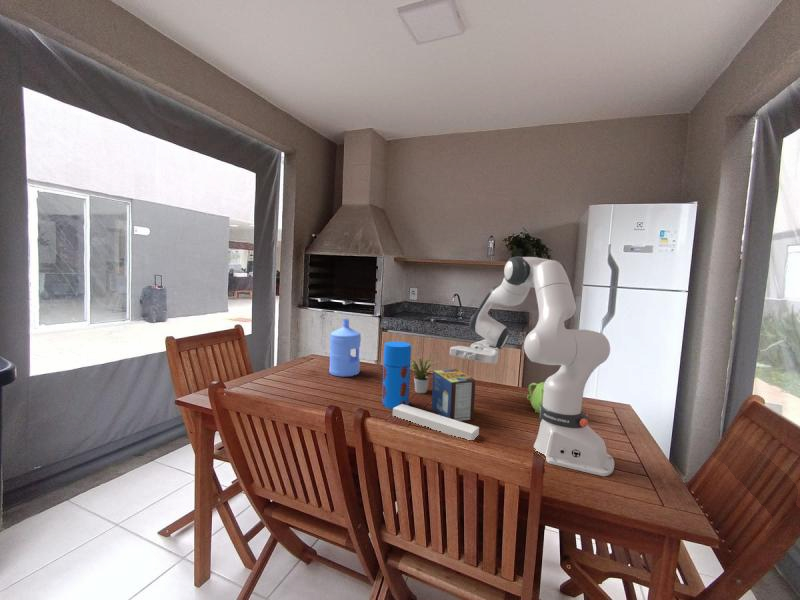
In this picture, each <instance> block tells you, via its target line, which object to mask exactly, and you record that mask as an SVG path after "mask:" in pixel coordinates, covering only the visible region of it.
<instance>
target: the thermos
mask: <svg viewBox="0 0 800 600" xmlns="http://www.w3.org/2000/svg"><path fill="white" fill-rule="evenodd" d="M411 359H412V345H411V343H408V342H404V341H388V342H385V343H384V347H383V368H382V370H383V371H382V406H383V407H384V408H386V409H388V408H389V409H390V410H393V408H394V407H396V406H399V405H401V404H404V405H408V406H409V400H410V386H411V385H410V382H411V362H412V360H411ZM389 409H388V410H389Z"/></svg>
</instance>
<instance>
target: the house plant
mask: <svg viewBox="0 0 800 600" xmlns="http://www.w3.org/2000/svg"><path fill="white" fill-rule="evenodd" d="M416 357H417V359H418V360H419V365H418V364H417V362H416V361H415V360H414V359H413V358H411V363H410V365H411V366H412V368H411V371H413V373H412V375H416V376H413V380H414V391H415V392H416V393H418V394H425V393H427V392H428V388H429V384H430V377H429V375H433V371H434V370H429V368H430V367H431V366H432V365H434V364H435V363H436V362H437V363H438V360H435V361H433V360H430V359H431V358H432V356H430V357H428V358H427V359H426V361H425V362H424V360H423V358H422V357H421V358H420V357H419V356H416ZM419 366H420V368H419ZM428 370H429V371H428ZM414 372H415V373H414Z"/></svg>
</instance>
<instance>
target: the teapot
mask: <svg viewBox="0 0 800 600" xmlns="http://www.w3.org/2000/svg"><path fill="white" fill-rule="evenodd" d="M544 383H545V381H541V382H539V383H536V382H531V383H530V384H529V385H528V392H529V394H527V395H526V399H527V401H530V404H531V406H532V408H533V409H534V411H535V412H534V413H536V412H537V414H540V408H541V405H542V404H543V392H544ZM533 386H535V388H534V390H533V391H532V387H533Z"/></svg>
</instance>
